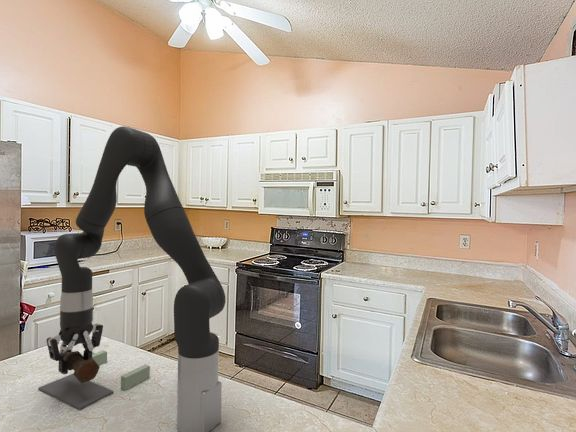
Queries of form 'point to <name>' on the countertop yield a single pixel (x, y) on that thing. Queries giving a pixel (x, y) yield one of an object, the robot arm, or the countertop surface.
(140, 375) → the rails
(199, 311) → the robot arm
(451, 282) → the countertop surface
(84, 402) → the mat
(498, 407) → the countertop surface
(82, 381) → the bolt
